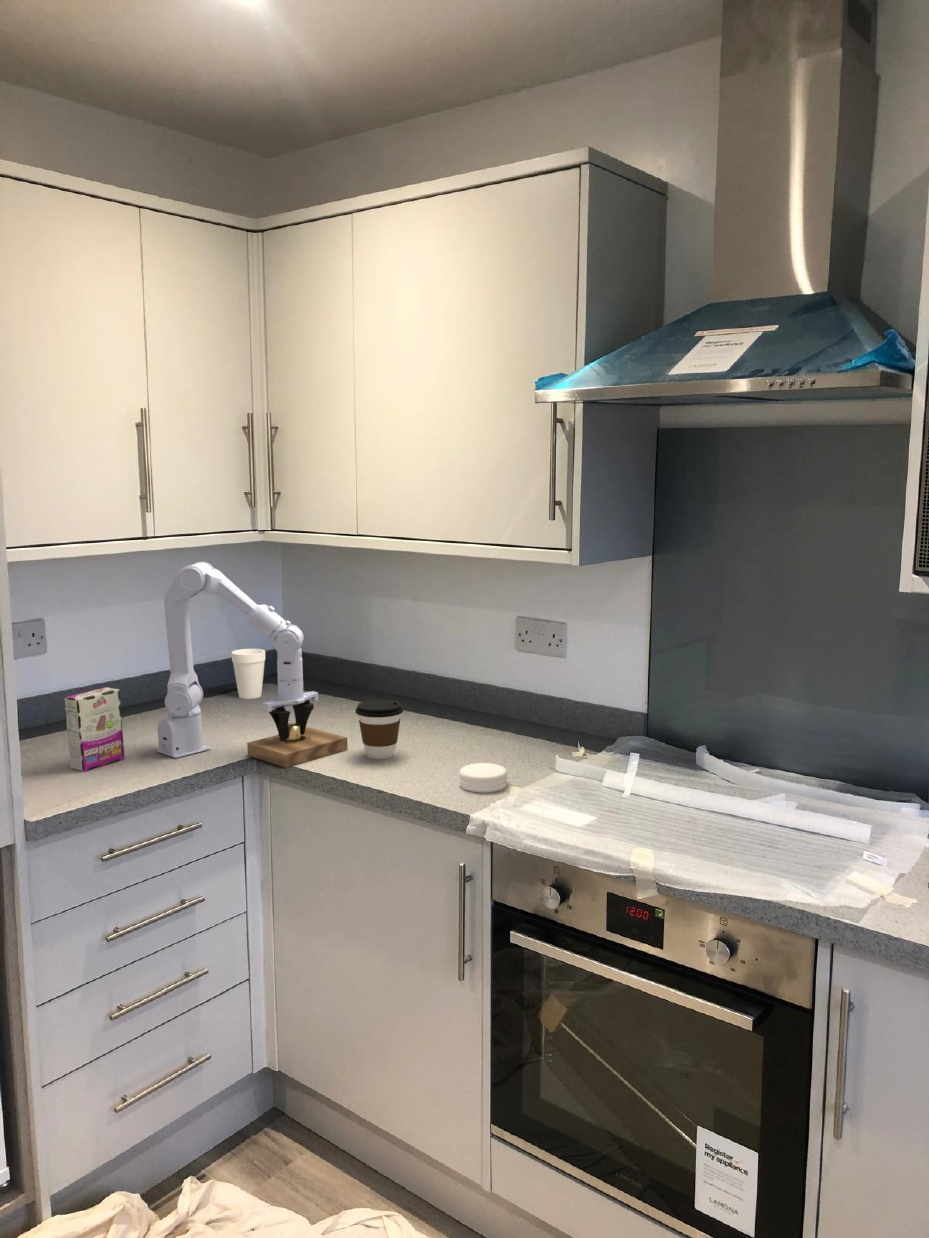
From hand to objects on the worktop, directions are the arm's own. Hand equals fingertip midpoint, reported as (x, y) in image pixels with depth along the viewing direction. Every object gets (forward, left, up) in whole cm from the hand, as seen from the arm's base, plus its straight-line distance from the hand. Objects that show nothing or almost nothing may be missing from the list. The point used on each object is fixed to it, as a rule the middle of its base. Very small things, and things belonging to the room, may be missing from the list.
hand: (292, 735), depth 225 cm
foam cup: (+26, +52, -4) cm, 58 cm away
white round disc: (+11, -49, -4) cm, 50 cm away
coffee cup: (+11, -18, -4) cm, 21 cm away
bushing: (0, 0, -3) cm, 3 cm away
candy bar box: (-35, +25, -4) cm, 43 cm away
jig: (0, -2, -4) cm, 4 cm away
